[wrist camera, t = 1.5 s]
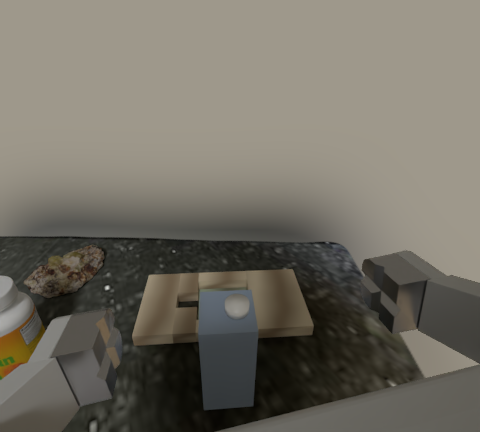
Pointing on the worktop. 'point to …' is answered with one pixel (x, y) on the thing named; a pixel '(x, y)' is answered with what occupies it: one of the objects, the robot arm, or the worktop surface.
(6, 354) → the supplement bottle
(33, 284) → the mineral rock
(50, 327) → the robot arm
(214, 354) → the block
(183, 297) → the board
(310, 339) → the worktop surface
